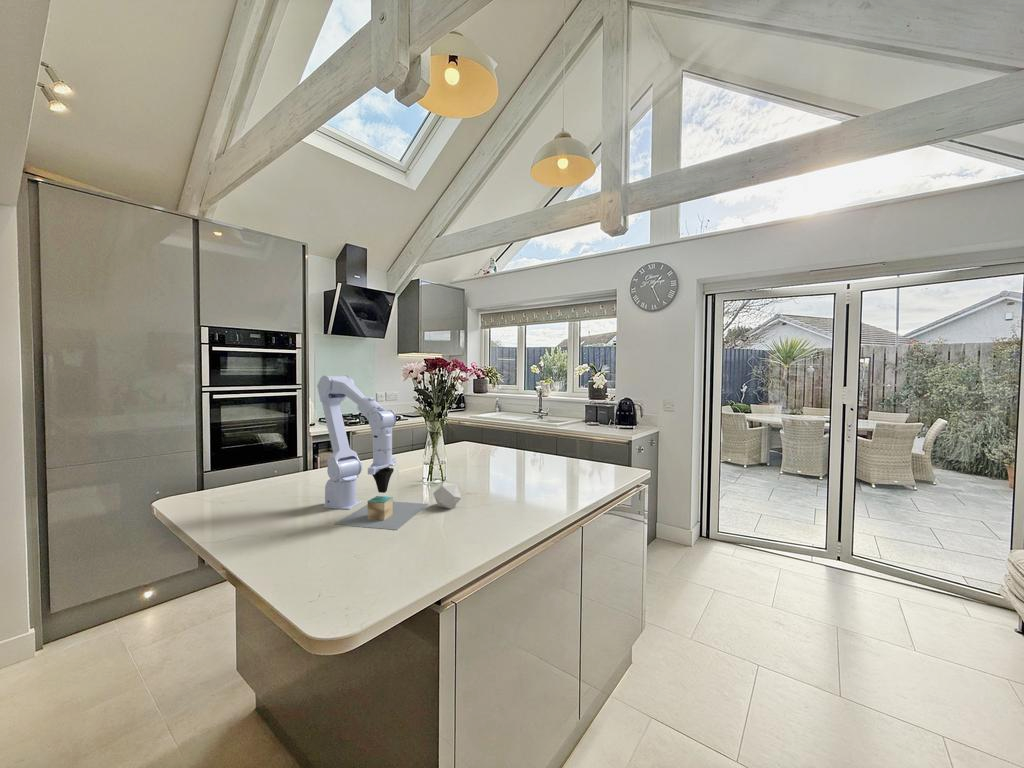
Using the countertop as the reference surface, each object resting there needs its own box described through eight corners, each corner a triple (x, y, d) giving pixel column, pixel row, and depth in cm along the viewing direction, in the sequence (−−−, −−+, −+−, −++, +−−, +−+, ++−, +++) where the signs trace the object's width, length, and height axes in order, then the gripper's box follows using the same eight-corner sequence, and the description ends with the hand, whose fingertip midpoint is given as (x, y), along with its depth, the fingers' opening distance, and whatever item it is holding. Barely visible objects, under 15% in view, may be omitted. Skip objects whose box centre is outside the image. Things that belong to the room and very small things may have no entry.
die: (465, 507, 144) (457, 481, 149) (460, 501, 137) (452, 474, 141) (442, 516, 144) (435, 490, 148) (436, 511, 136) (428, 483, 140)
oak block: (376, 495, 135) (376, 513, 135) (367, 501, 129) (367, 518, 130) (392, 497, 134) (392, 514, 134) (384, 502, 129) (384, 520, 129)
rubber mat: (333, 525, 125) (333, 524, 125) (374, 500, 148) (374, 500, 148) (397, 530, 121) (397, 529, 121) (428, 504, 145) (428, 503, 145)
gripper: (383, 454, 125) (383, 499, 125) (404, 445, 139) (404, 486, 139) (361, 452, 126) (361, 498, 126) (384, 444, 140) (384, 485, 141)
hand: (382, 492), depth 133 cm, fingers closed
